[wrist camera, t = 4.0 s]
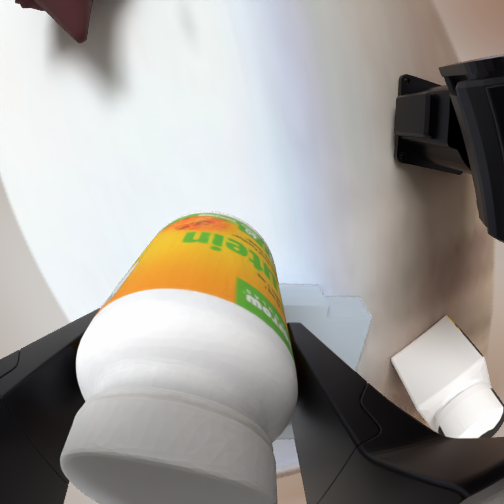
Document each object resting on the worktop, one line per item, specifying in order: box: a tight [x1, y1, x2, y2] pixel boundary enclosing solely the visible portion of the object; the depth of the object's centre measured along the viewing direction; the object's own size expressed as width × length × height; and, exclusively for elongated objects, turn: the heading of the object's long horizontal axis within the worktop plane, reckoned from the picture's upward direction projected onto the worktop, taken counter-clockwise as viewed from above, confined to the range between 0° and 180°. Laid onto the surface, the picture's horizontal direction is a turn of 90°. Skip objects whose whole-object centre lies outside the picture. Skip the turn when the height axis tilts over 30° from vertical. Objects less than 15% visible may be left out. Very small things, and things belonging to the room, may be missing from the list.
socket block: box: [276, 284, 372, 440], centre depth 24 cm, size 16×16×3 cm
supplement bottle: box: [60, 211, 298, 504], centre depth 8 cm, size 5×5×10 cm
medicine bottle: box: [391, 315, 504, 438], centre depth 21 cm, size 7×7×12 cm
